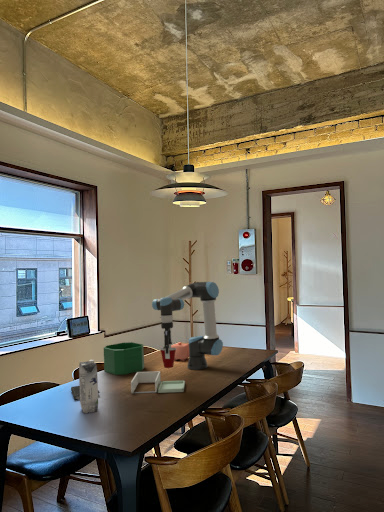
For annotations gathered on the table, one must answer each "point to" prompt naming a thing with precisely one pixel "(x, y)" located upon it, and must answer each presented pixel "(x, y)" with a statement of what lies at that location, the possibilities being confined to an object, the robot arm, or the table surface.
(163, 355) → the plastic cup
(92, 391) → the juice carton
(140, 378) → the frame
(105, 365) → the planter
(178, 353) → the teapot
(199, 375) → the table surface
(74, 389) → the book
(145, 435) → the table surface
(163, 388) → the tray
